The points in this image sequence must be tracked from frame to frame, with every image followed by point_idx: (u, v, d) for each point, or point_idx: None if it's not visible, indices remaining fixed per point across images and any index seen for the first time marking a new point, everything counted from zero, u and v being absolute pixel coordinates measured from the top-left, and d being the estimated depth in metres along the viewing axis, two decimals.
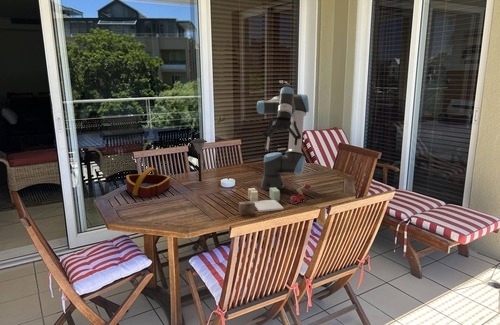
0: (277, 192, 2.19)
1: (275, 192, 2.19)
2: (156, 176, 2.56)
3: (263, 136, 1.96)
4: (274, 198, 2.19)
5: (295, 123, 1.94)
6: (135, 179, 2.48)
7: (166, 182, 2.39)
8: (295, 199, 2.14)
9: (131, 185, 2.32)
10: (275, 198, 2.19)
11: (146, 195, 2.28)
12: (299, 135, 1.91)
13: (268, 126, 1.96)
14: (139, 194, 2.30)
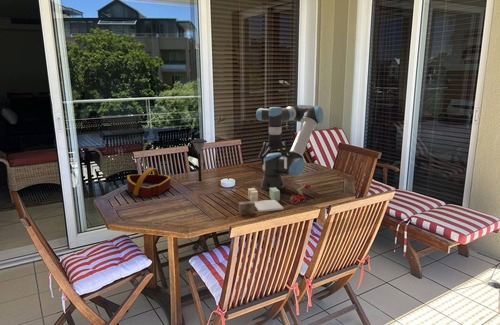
0: (277, 192, 2.19)
1: (275, 192, 2.19)
2: (157, 176, 2.56)
3: (258, 157, 2.16)
4: (274, 198, 2.19)
5: (286, 144, 2.17)
6: (136, 179, 2.48)
7: (167, 182, 2.39)
8: (295, 199, 2.14)
9: (132, 185, 2.32)
10: (275, 198, 2.19)
11: (147, 195, 2.28)
12: (290, 155, 2.19)
13: (263, 149, 2.14)
14: (140, 194, 2.29)
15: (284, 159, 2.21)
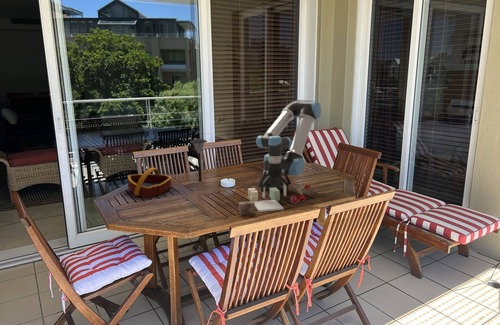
0: (277, 192, 2.19)
1: (275, 192, 2.19)
2: (157, 176, 2.56)
3: (258, 185, 2.20)
4: (274, 198, 2.19)
5: (285, 172, 2.20)
6: (136, 179, 2.48)
7: (168, 182, 2.39)
8: (295, 199, 2.14)
9: (133, 185, 2.32)
10: (275, 198, 2.19)
11: (148, 195, 2.28)
12: (290, 183, 2.22)
13: (263, 177, 2.18)
14: (141, 194, 2.29)
15: (283, 186, 2.25)
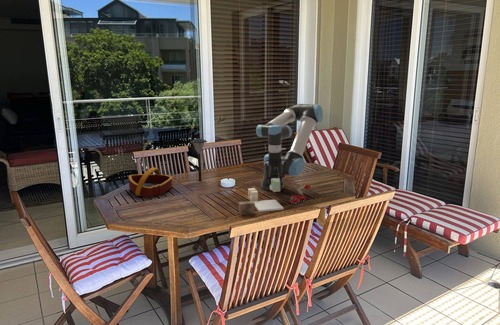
0: (277, 182, 2.18)
1: (275, 183, 2.18)
2: (158, 176, 2.55)
3: (266, 178, 2.20)
4: (274, 189, 2.18)
5: (285, 164, 2.19)
6: (137, 179, 2.48)
7: (169, 182, 2.39)
8: (295, 199, 2.14)
9: (134, 185, 2.32)
10: (275, 189, 2.18)
11: (149, 195, 2.28)
12: (283, 176, 2.21)
13: (266, 169, 2.17)
14: (142, 194, 2.29)
15: None
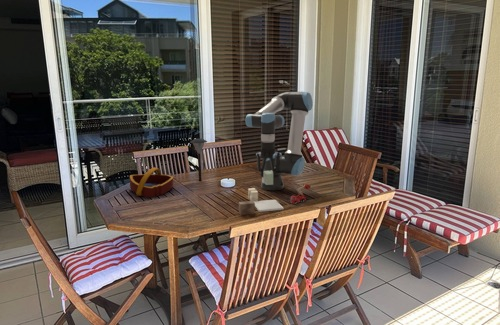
0: (270, 175, 2.02)
1: (268, 175, 2.02)
2: (159, 176, 2.55)
3: None
4: (267, 182, 2.03)
5: (278, 155, 2.04)
6: (138, 179, 2.48)
7: (170, 182, 2.39)
8: (295, 199, 2.14)
9: (135, 185, 2.32)
10: (268, 182, 2.03)
11: (150, 195, 2.28)
12: (277, 168, 2.05)
13: (258, 160, 2.02)
14: (143, 194, 2.29)
15: None
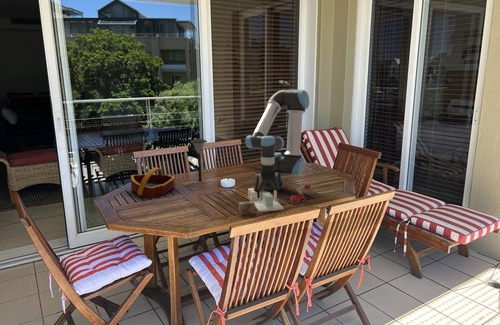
0: (270, 197, 2.05)
1: (268, 198, 2.05)
2: (160, 176, 2.55)
3: None
4: (267, 204, 2.06)
5: (279, 175, 2.07)
6: (140, 179, 2.48)
7: (171, 182, 2.38)
8: (295, 199, 2.14)
9: (136, 185, 2.32)
10: (268, 204, 2.06)
11: (151, 195, 2.28)
12: (280, 188, 2.09)
13: (257, 182, 2.04)
14: (144, 194, 2.29)
15: (274, 192, 2.11)
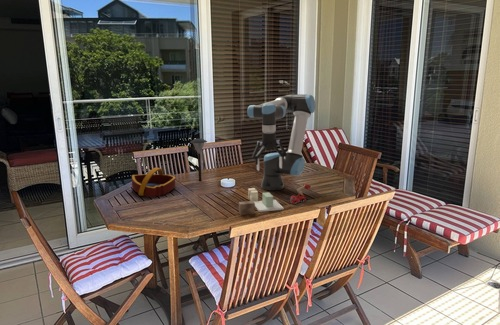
0: (270, 197, 2.05)
1: (268, 198, 2.05)
2: (161, 176, 2.55)
3: (252, 157, 2.06)
4: (267, 204, 2.06)
5: (281, 142, 2.07)
6: (141, 179, 2.48)
7: (172, 182, 2.38)
8: (295, 199, 2.14)
9: (137, 185, 2.32)
10: (268, 204, 2.06)
11: (152, 195, 2.28)
12: (285, 154, 2.09)
13: (257, 148, 2.04)
14: (145, 194, 2.29)
15: (279, 158, 2.11)
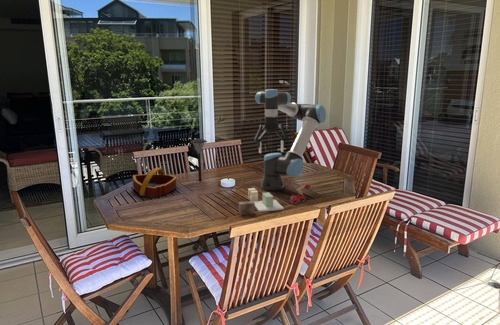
0: (270, 197, 2.05)
1: (268, 198, 2.05)
2: (162, 176, 2.55)
3: None
4: (267, 204, 2.06)
5: (282, 126, 2.15)
6: (141, 179, 2.48)
7: (173, 182, 2.38)
8: (295, 199, 2.14)
9: (138, 185, 2.32)
10: (268, 204, 2.06)
11: (153, 195, 2.28)
12: (287, 138, 2.17)
13: (259, 131, 2.12)
14: (146, 194, 2.29)
15: None
